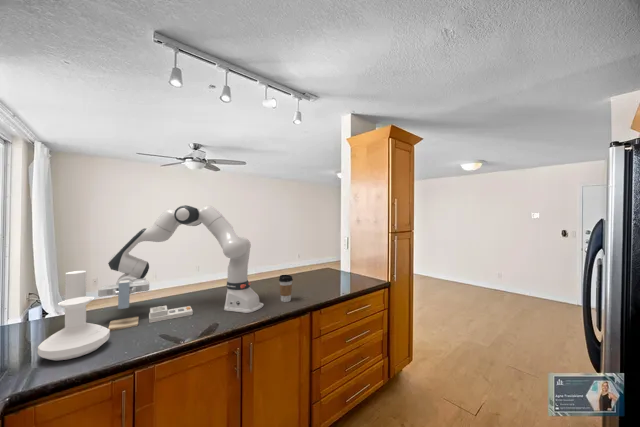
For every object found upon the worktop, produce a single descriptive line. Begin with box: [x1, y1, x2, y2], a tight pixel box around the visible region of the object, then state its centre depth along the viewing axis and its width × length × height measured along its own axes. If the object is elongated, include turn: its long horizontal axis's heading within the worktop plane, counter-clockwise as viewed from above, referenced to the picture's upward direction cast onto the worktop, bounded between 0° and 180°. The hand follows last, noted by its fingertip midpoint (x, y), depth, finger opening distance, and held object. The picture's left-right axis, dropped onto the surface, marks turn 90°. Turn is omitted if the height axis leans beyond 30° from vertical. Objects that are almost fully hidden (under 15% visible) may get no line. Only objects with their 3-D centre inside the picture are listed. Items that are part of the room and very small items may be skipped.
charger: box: [117, 280, 130, 310], centre depth 124 cm, size 5×4×12 cm
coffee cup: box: [278, 274, 294, 303], centre depth 160 cm, size 8×8×15 cm
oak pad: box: [108, 315, 139, 332], centre depth 124 cm, size 11×11×1 cm
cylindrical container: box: [64, 270, 87, 328], centre depth 122 cm, size 7×7×25 cm
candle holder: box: [37, 296, 111, 362], centre depth 99 cm, size 20×20×19 cm
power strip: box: [148, 305, 194, 324], centre depth 135 cm, size 19×9×4 cm, turn 124°
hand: (124, 292), depth 123 cm, fingers closed on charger, 4 cm apart
